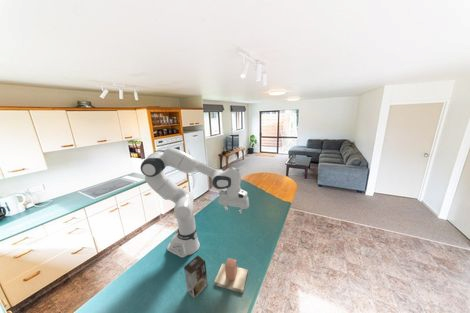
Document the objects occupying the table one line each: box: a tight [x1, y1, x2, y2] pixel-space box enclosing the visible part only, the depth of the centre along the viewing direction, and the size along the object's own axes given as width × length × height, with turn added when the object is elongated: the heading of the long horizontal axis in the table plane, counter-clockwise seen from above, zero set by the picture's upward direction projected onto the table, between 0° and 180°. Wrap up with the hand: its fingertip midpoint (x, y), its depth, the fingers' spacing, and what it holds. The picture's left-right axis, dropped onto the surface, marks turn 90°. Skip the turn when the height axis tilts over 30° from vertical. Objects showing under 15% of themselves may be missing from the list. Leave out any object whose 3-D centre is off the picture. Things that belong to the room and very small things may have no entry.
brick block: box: [224, 257, 238, 281], centre depth 92 cm, size 5×5×9 cm
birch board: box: [213, 263, 249, 294], centre depth 93 cm, size 16×12×2 cm
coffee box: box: [183, 255, 209, 299], centre depth 87 cm, size 9×6×16 cm
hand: (233, 211), depth 109 cm, fingers open, 8 cm apart
